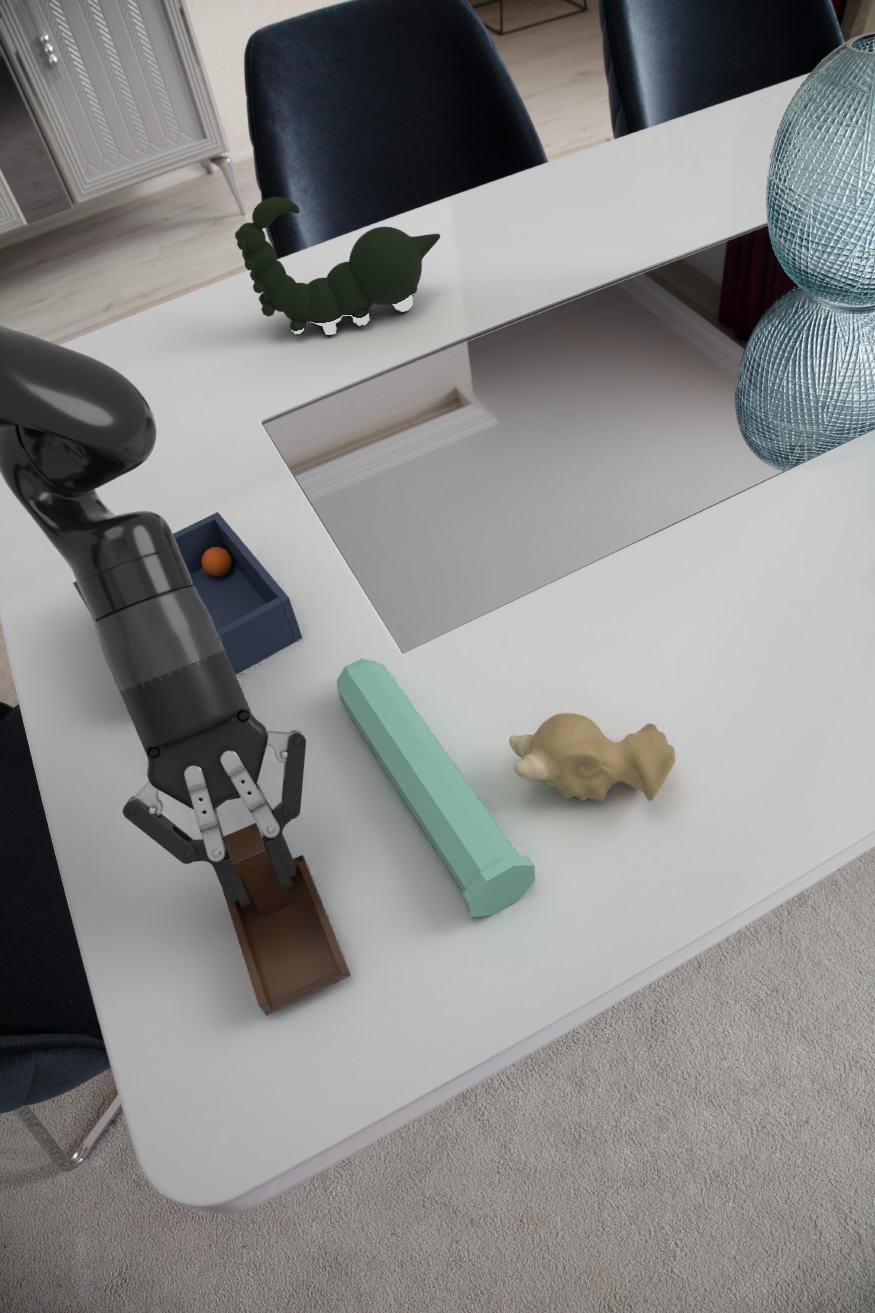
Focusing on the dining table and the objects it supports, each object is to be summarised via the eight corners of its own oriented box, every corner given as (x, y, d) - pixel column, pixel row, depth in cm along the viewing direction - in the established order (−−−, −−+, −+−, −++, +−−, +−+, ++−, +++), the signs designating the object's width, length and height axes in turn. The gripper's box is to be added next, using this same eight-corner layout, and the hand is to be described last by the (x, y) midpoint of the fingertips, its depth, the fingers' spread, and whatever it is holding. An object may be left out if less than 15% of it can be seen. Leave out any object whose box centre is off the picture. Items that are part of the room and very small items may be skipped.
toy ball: (209, 578, 92) (224, 553, 92) (190, 563, 93) (205, 538, 93) (228, 584, 95) (242, 559, 94) (209, 570, 96) (224, 545, 96)
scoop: (351, 976, 66) (326, 923, 59) (266, 1016, 64) (230, 967, 58) (308, 867, 72) (281, 807, 65) (230, 902, 70) (193, 845, 64)
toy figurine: (281, 367, 123) (460, 310, 123) (229, 229, 108) (432, 164, 108) (272, 332, 129) (443, 277, 129) (221, 196, 114) (414, 135, 114)
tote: (154, 720, 84) (132, 682, 80) (95, 621, 93) (72, 582, 89) (302, 638, 89) (289, 597, 84) (232, 551, 98) (217, 511, 93)
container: (329, 651, 79) (479, 877, 64) (390, 641, 82) (547, 854, 67) (319, 702, 83) (458, 928, 67) (377, 691, 86) (524, 904, 70)
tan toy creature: (685, 775, 68) (526, 745, 67) (653, 843, 72) (503, 816, 71) (666, 707, 75) (522, 680, 74) (638, 773, 78) (501, 747, 78)
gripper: (60, 709, 58) (168, 955, 60) (269, 628, 61) (366, 866, 63) (80, 701, 66) (175, 920, 67) (265, 628, 68) (352, 841, 70)
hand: (267, 893), depth 65 cm, fingers closed on scoop, 2 cm apart
